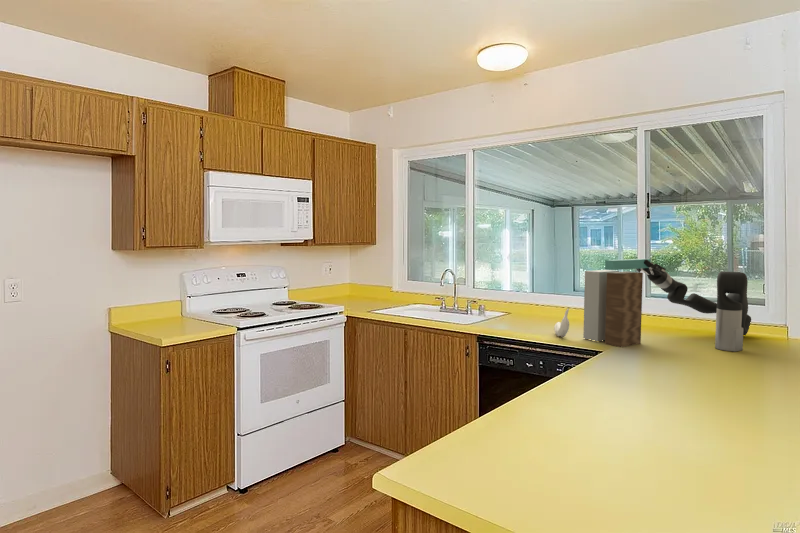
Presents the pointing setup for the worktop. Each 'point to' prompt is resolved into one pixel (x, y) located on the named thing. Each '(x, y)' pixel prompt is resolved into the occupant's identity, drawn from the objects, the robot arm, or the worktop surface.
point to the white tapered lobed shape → (562, 326)
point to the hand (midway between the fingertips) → (640, 260)
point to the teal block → (625, 264)
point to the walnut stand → (623, 308)
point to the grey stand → (595, 304)
